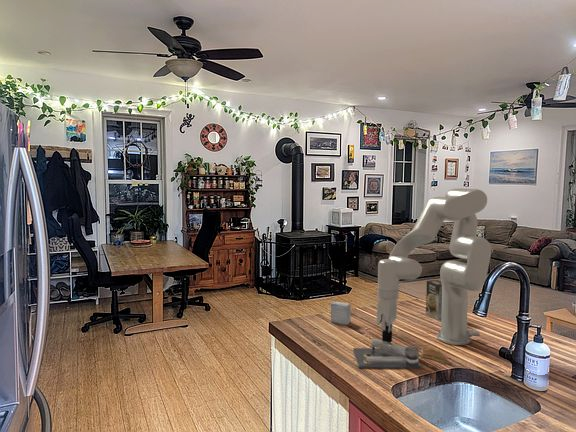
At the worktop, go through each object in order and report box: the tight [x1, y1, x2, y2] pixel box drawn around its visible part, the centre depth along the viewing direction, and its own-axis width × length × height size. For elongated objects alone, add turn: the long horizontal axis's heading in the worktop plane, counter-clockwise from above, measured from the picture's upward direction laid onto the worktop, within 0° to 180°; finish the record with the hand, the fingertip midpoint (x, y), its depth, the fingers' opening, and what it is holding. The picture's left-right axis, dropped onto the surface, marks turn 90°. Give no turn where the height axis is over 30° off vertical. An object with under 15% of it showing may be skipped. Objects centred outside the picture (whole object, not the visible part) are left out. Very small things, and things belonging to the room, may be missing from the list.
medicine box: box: [330, 301, 352, 326], centre depth 181 cm, size 8×4×9 cm, turn 58°
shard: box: [420, 348, 451, 365], centre depth 145 cm, size 11×8×2 cm
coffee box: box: [425, 279, 442, 321], centre depth 189 cm, size 9×6×16 cm
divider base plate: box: [352, 347, 422, 369], centre depth 144 cm, size 21×14×3 cm, turn 89°
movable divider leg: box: [370, 337, 420, 359], centre depth 144 cm, size 18×4×4 cm, turn 49°
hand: (387, 341), depth 151 cm, fingers closed
